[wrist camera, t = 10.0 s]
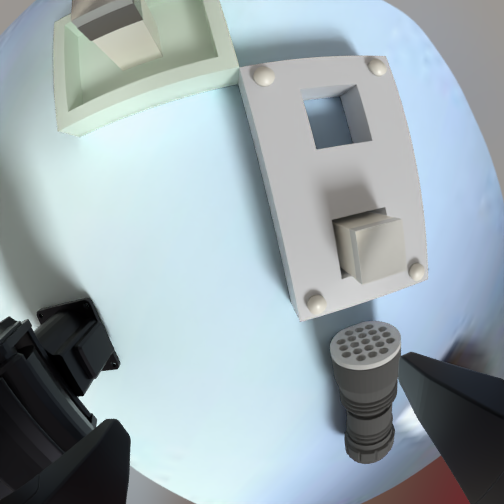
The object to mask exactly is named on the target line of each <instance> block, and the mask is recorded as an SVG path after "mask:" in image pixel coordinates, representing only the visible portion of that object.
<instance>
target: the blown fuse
mask: <svg viewBox="0 0 504 504" xmlns="http://www.w3.org/2000/svg"><path fill="white" fill-rule="evenodd" d="M71 22H72V23H73V24H74V25H75V26H76V27H77V29H78V30H79V31H80V32H82V33H83V34H84V35H85V36H86V37H87V38H88V39H89V40H90V41H93V42H94V43H95V44H96V45H97V46H98V47H99V48H100V49H101V50H102V51H103V52H104V53H105V54H106V55H107V56H108V57H109V58H110V59H111V60H112V61H113V62H114V63H115V64H116V65H117V66H118V67H119V68H120V69H121V70H122V71H124V70H127V69H130V68H132V67H135V66H137V65H140V64H143V63H146V62H149V61H152V60H155V59H158V58H161V57H163V55H162V50H161V44H160V38H159V33H158V27H157V25H156V23H155V21H154V19H153V16H152V14H151V12H150V10H149V8H148V6H147V4H146V2H145V0H72V11H71Z"/></svg>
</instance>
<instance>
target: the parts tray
mask: <svg viewBox="0 0 504 504" xmlns="http://www.w3.org/2000/svg"><path fill="white" fill-rule="evenodd" d="M145 2H146V4H147V6H148V8H149V10H150V12H151V14H152V16H153V19H154V21H155V23H156V25H157V27H158V33H159V38H160V44H161V50H162V55H163V57H161V58H158V59H155V60H152V61H149V62H146V63H143V64H140V65H137V66H135V67H132V68H130V69H127V70H124V71H122V70H121V69H120V68H119V67H118V66H117V65H116V64H115V63H114V62H113V61H112V60H111V59H110V58H109V57H108V56H107V55H106V54H105V53H104V52H103V51H102V50H101V49H100V48H99V47H98V46H97V45H96V44H95V43H94V42H93V41H90V40H89V39H88V38H87V37H86V36H85V35H84V34H83V33H82V32H80V31H79V30H78V29H77V27H76V26H75V25H74V24H73V23H72V22H71V13H70V14H69V15H67V16H65V17H63V18H62V19H60V20H58V21H56V22H55V23H54V37H53V80H54V98H55V110H56V120H57V129H58V132H61V133H65V134H69V135H73V136H76V137H82V136H84V135H86V134H88V133H90V132H92V131H95V130H97V129H99V128H101V127H104V126H106V125H108V124H111V123H113V122H116V121H118V120H120V119H123V118H125V117H128V116H131V115H133V114H136V113H139V112H141V111H144V110H147V109H150V108H153V107H156V106H159V105H162V104H165V103H168V102H171V101H174V100H178V99H181V98H184V97H188V96H191V95H195V94H199V93H202V92H206V91H210V90H214V89H218V88H223V87H227V86H231V85H236V84H238V79H239V64H238V60H237V57H236V54H235V50H234V47H233V43H232V40H231V37H230V33H229V30H228V27H227V23H226V20H225V17H224V14H223V11H222V7H221V4H220V1H219V0H145Z"/></svg>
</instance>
